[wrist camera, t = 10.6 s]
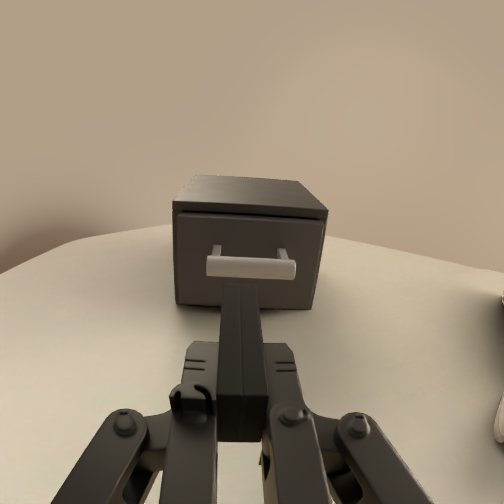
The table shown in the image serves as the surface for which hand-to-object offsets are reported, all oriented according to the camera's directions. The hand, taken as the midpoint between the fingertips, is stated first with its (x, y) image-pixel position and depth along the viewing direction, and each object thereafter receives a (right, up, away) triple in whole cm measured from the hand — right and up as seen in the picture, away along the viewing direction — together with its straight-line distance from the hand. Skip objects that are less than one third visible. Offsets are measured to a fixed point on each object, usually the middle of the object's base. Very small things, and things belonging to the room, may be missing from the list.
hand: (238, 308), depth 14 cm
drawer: (0, 0, +16) cm, 16 cm away
